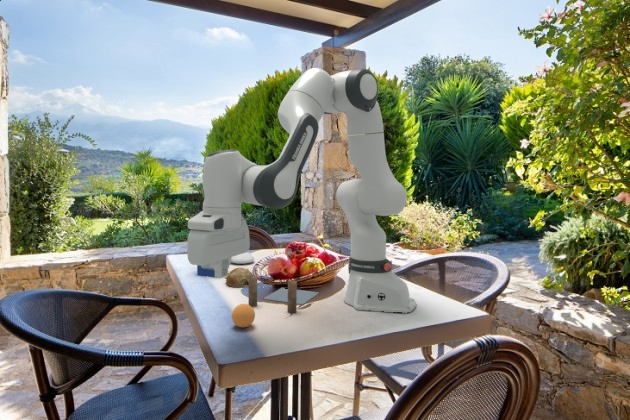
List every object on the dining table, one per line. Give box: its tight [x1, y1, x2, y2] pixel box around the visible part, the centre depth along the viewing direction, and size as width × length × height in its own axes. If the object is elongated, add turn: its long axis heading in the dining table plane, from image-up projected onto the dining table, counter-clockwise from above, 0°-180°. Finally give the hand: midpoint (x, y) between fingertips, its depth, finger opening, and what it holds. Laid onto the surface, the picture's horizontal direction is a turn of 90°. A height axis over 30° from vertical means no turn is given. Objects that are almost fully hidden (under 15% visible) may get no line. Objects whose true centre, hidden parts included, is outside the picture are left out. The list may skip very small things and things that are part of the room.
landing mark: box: [262, 287, 320, 306], centre depth 134 cm, size 14×14×1 cm
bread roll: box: [224, 267, 254, 289], centre depth 147 cm, size 10×10×8 cm
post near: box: [286, 279, 298, 314], centre depth 118 cm, size 3×3×9 cm
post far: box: [248, 274, 258, 308], centre depth 123 cm, size 3×3×9 cm
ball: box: [231, 303, 256, 328], centre depth 106 cm, size 6×6×6 cm
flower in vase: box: [231, 251, 255, 265], centre depth 181 cm, size 13×11×25 cm
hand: (221, 277), depth 96 cm, fingers closed
